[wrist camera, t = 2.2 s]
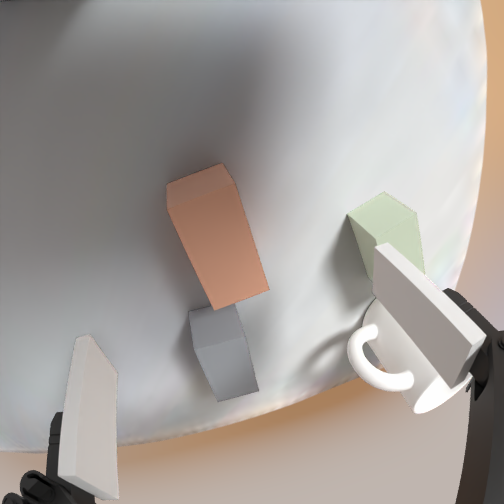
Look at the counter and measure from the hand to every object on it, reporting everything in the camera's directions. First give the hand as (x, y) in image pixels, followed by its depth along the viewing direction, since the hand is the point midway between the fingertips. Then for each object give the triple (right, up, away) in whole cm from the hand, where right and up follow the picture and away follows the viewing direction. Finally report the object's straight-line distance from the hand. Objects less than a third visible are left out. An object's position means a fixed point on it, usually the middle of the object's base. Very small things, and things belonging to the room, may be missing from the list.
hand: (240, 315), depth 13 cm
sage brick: (+10, +4, +11) cm, 15 cm away
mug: (+13, -3, +16) cm, 21 cm away
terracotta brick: (-2, +5, +7) cm, 8 cm away
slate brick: (-2, -4, +12) cm, 13 cm away
